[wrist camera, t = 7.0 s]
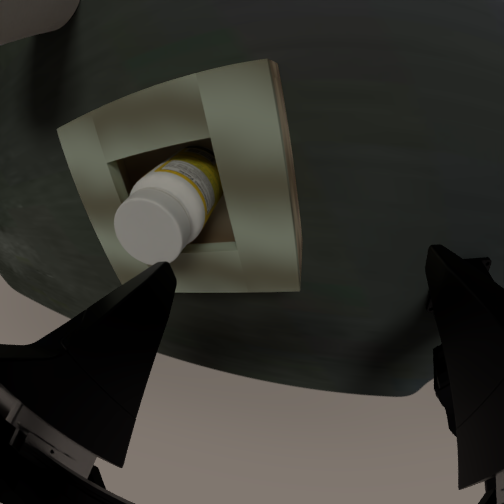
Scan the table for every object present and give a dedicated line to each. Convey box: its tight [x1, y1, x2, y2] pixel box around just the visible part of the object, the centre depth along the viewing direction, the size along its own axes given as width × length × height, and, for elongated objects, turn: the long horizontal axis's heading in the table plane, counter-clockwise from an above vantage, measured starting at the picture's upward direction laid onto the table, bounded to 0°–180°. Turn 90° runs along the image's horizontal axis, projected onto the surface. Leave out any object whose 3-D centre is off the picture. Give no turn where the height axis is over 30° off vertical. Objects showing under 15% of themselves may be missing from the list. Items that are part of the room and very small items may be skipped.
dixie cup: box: [0, 0, 80, 45], centre depth 8 cm, size 8×8×10 cm
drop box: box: [57, 59, 302, 293], centre depth 19 cm, size 14×14×6 cm
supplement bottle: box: [114, 145, 223, 265], centre depth 17 cm, size 5×5×8 cm
